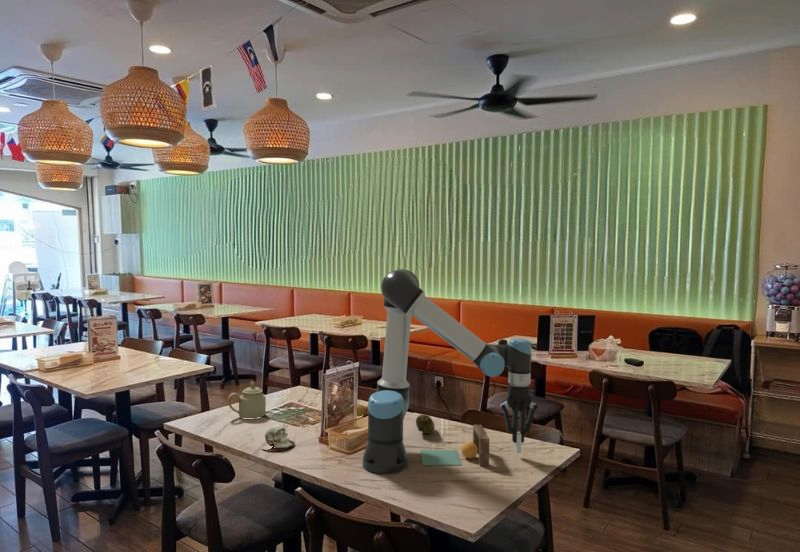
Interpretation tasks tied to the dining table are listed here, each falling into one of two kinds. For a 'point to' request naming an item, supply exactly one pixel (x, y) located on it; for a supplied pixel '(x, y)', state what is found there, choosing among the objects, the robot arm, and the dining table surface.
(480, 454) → the bridge
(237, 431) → the dining table surface
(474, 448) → the ball
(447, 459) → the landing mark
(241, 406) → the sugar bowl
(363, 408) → the croissant
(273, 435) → the skull
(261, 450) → the dining table surface
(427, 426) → the dark green avocado
